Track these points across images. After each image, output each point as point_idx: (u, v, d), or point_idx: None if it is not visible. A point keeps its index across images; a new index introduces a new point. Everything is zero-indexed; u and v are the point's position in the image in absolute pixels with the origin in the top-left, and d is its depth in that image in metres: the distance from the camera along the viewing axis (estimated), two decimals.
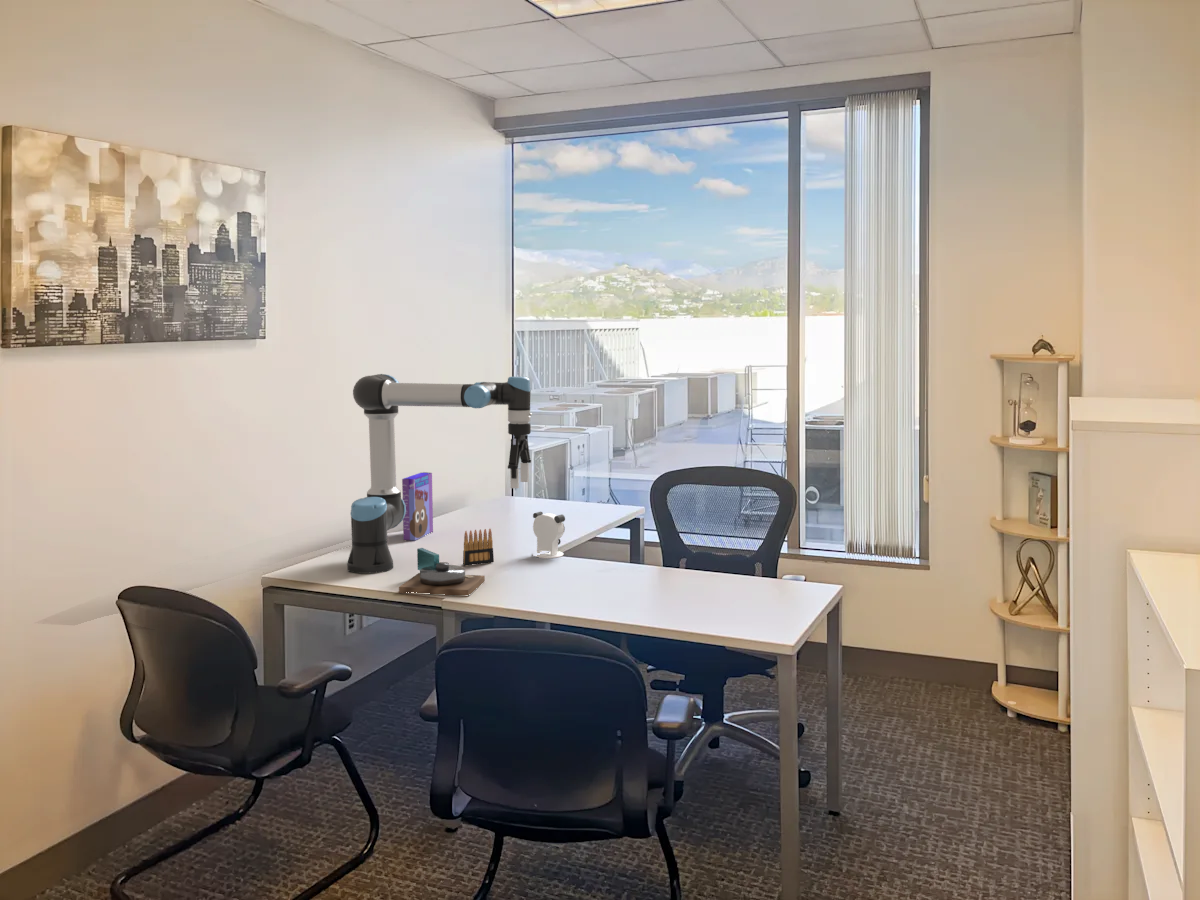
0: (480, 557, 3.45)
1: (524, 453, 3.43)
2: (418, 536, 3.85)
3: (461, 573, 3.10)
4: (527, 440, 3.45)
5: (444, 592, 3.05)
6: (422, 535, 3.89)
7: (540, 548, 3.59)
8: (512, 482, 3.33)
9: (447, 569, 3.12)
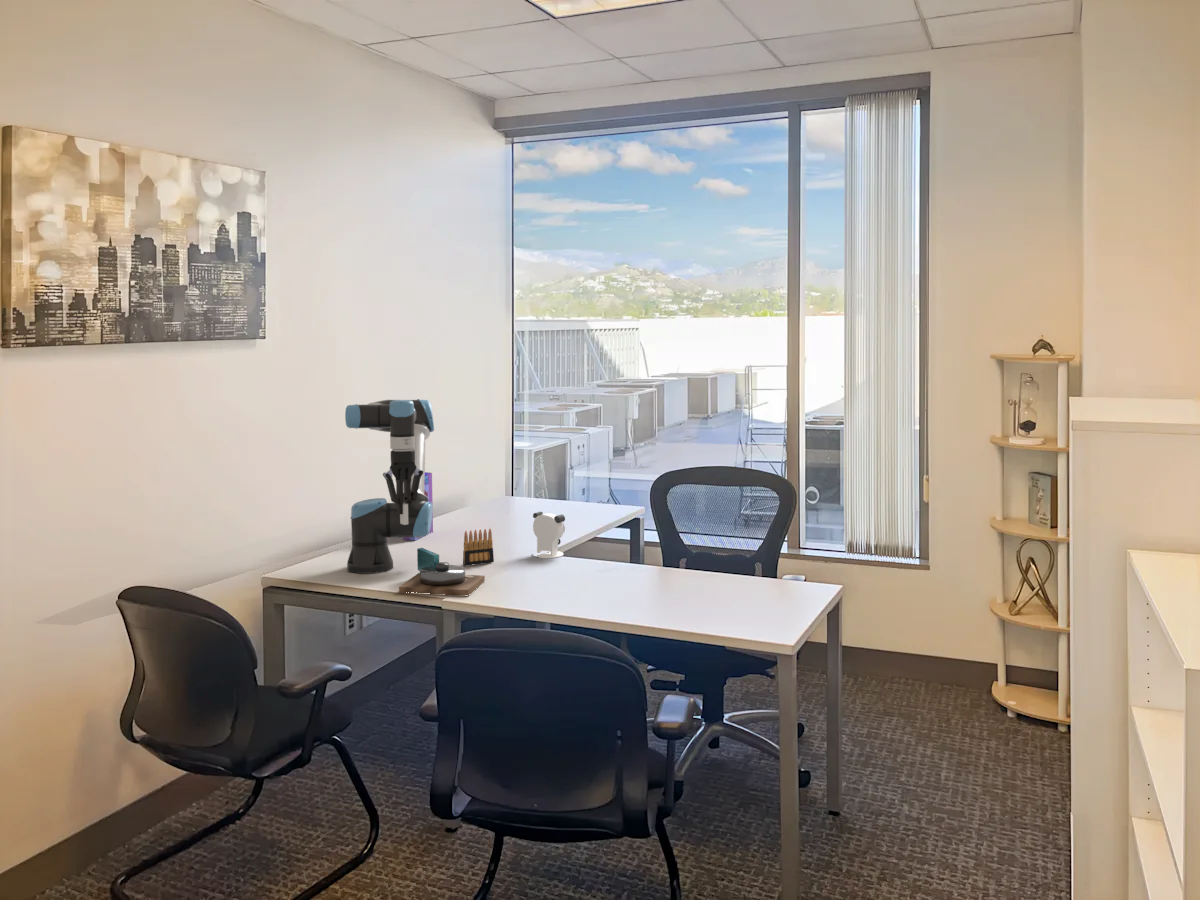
0: (480, 557, 3.45)
1: (406, 487, 3.15)
2: None
3: (461, 573, 3.10)
4: (419, 476, 3.16)
5: (444, 592, 3.05)
6: None
7: (540, 548, 3.59)
8: (400, 517, 3.16)
9: (447, 569, 3.12)
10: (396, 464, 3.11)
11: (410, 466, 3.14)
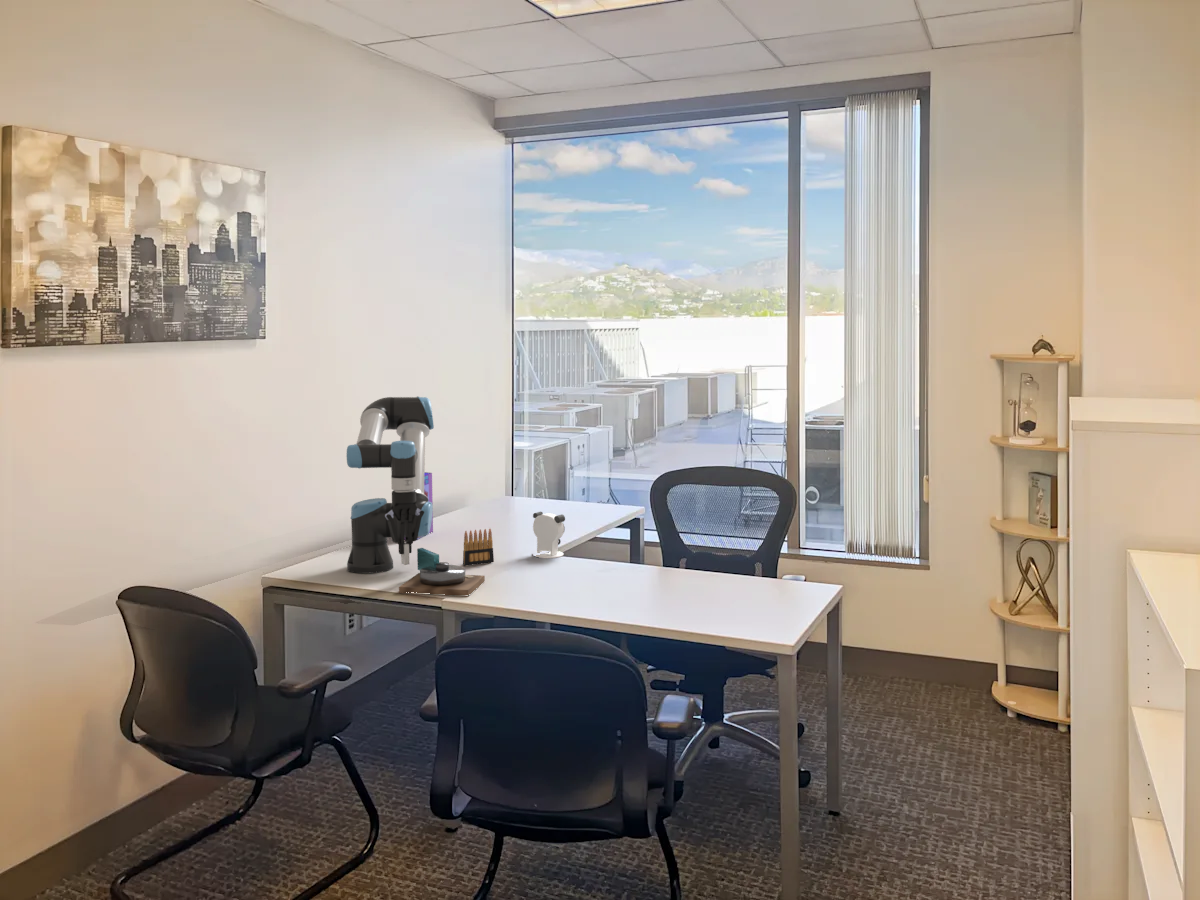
0: (480, 557, 3.45)
1: (407, 527, 3.16)
2: None
3: (461, 573, 3.10)
4: (420, 516, 3.18)
5: (444, 592, 3.05)
6: None
7: (540, 548, 3.59)
8: (402, 557, 3.18)
9: (447, 569, 3.12)
10: (397, 505, 3.13)
11: (411, 506, 3.16)
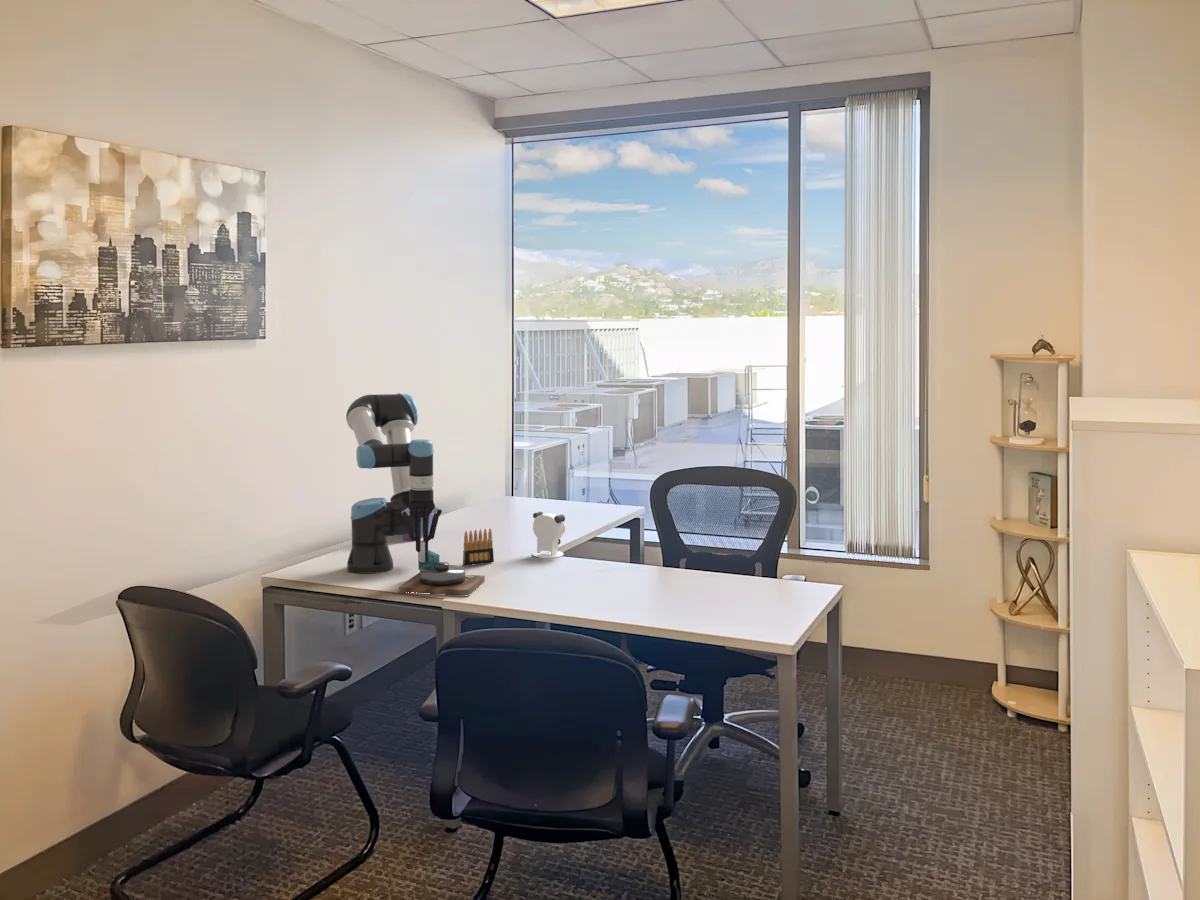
0: (480, 557, 3.45)
1: (424, 525, 3.20)
2: None
3: (461, 573, 3.10)
4: (438, 515, 3.20)
5: (444, 592, 3.05)
6: (422, 535, 3.89)
7: (540, 548, 3.59)
8: (419, 555, 3.21)
9: (447, 569, 3.12)
10: (413, 502, 3.17)
11: (428, 505, 3.19)
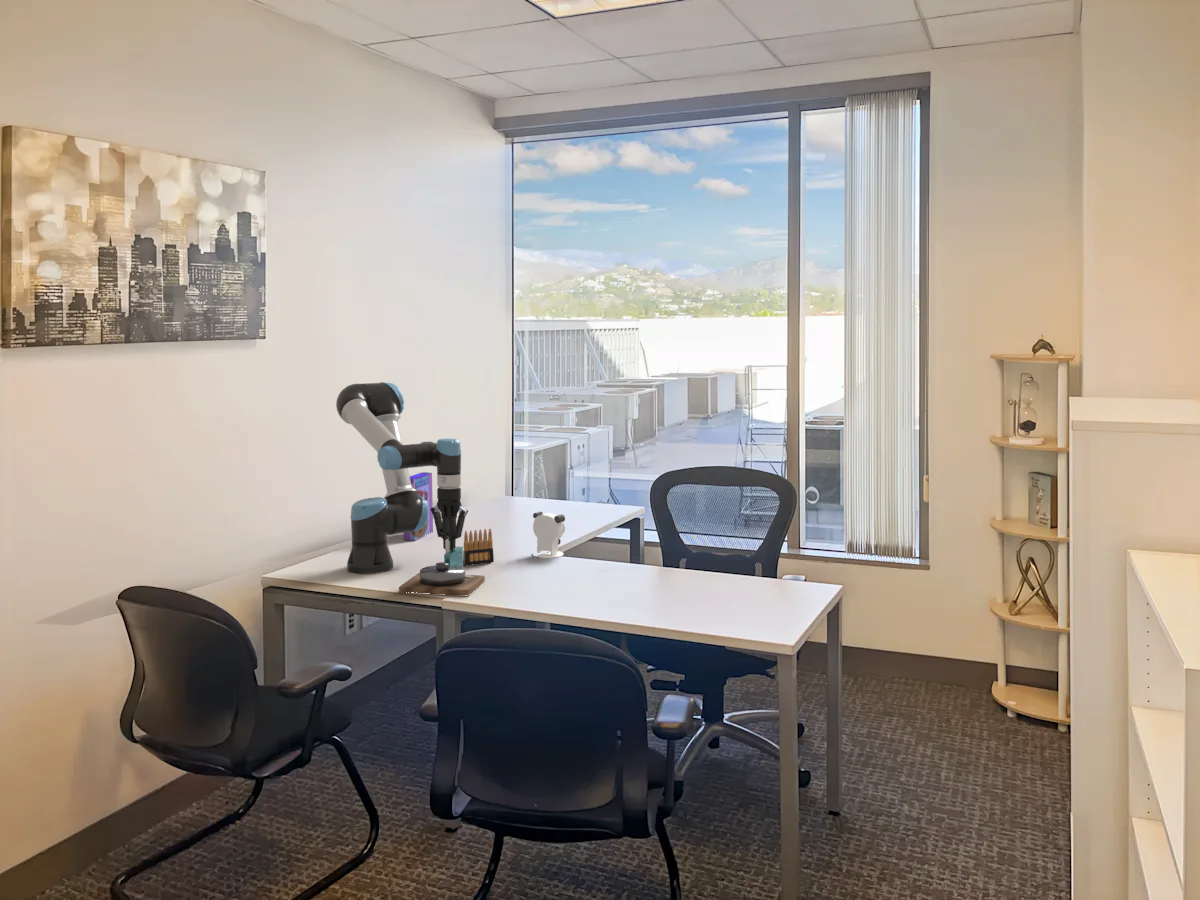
0: (480, 557, 3.45)
1: None
2: (418, 536, 3.85)
3: (445, 576, 3.07)
4: (460, 515, 3.20)
5: (444, 592, 3.05)
6: (422, 535, 3.89)
7: (540, 548, 3.59)
8: None
9: (442, 570, 3.11)
10: (440, 500, 3.22)
11: (452, 504, 3.20)
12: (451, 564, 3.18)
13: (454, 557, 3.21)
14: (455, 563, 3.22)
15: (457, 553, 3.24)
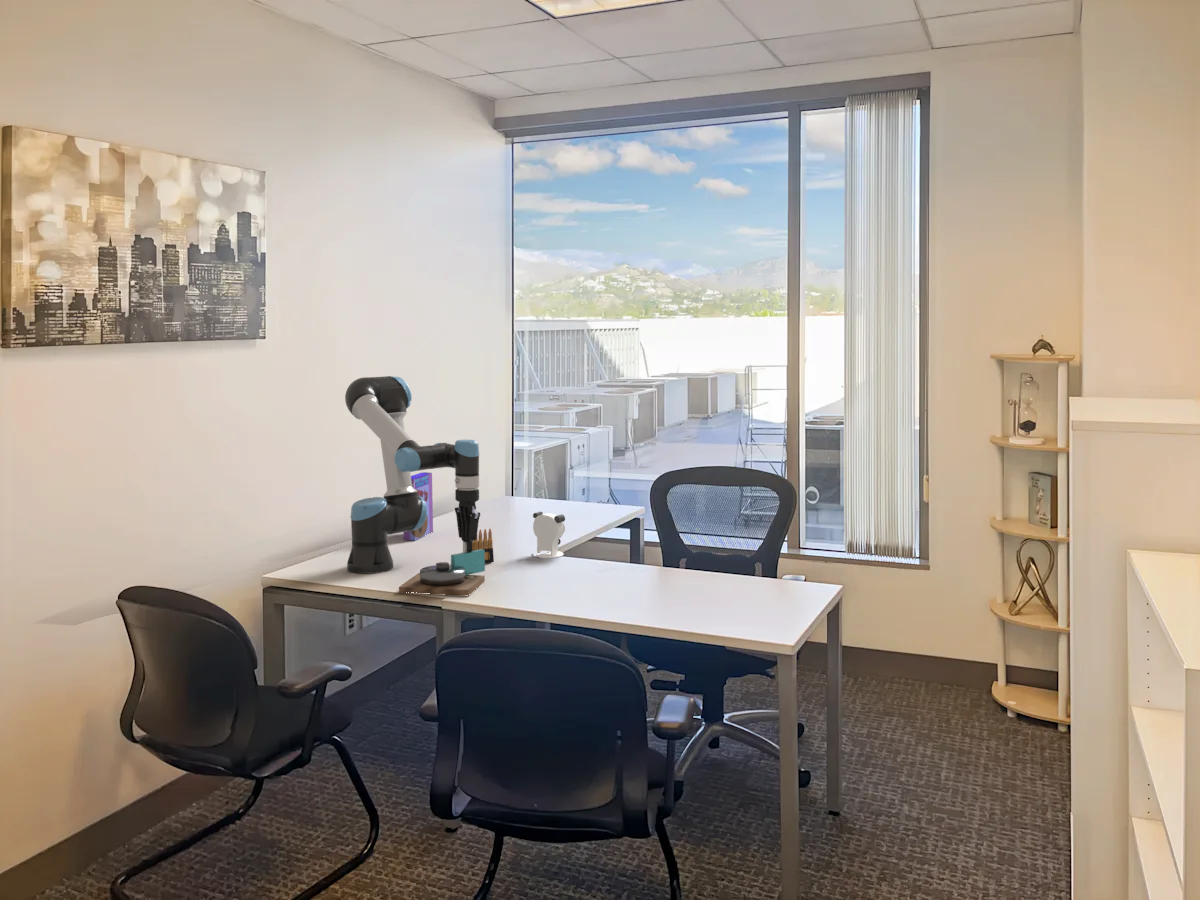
0: None
1: None
2: (418, 536, 3.85)
3: (433, 576, 3.07)
4: (471, 518, 3.16)
5: (444, 592, 3.05)
6: (422, 535, 3.89)
7: (540, 548, 3.59)
8: None
9: (439, 570, 3.11)
10: None
11: (467, 506, 3.18)
12: (458, 565, 3.16)
13: (465, 559, 3.18)
14: (467, 565, 3.19)
15: (472, 556, 3.20)
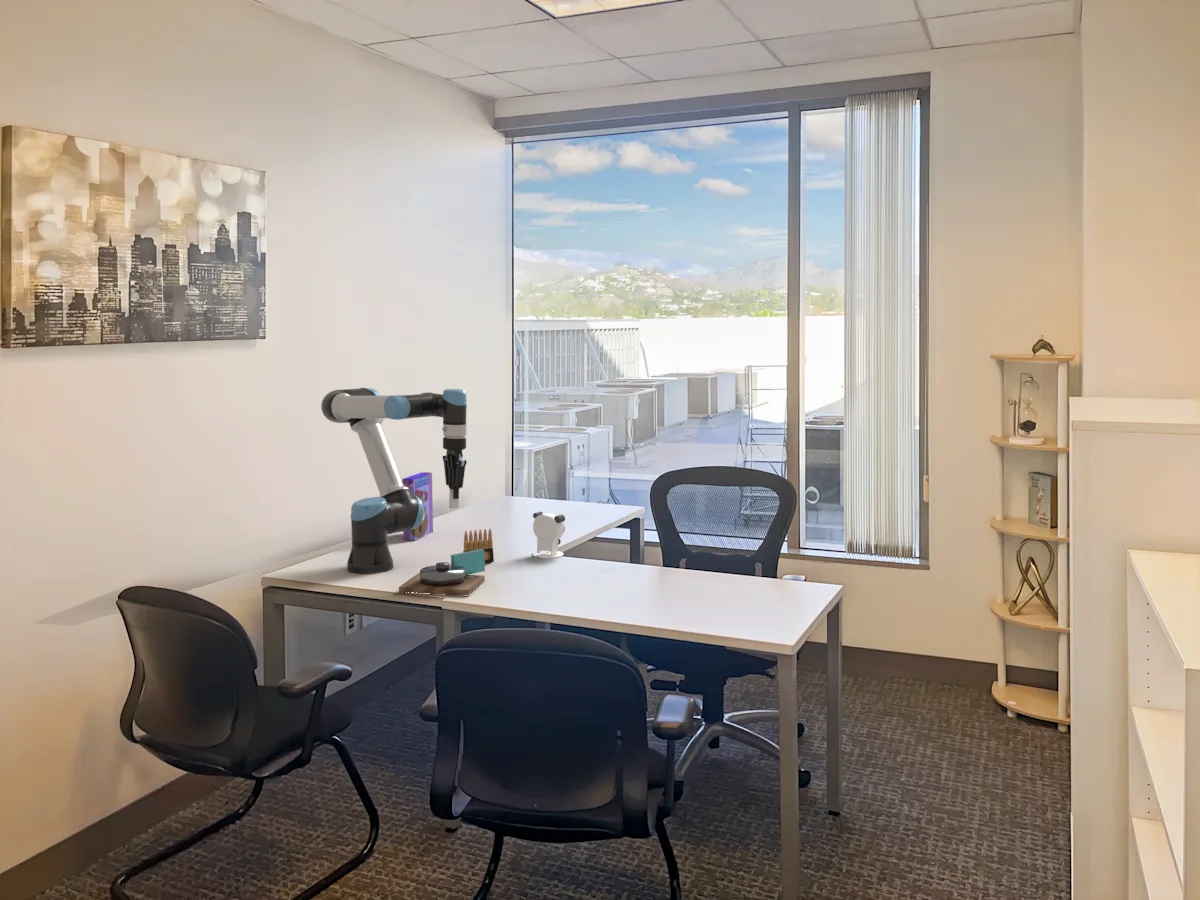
0: None
1: None
2: (418, 536, 3.85)
3: (433, 576, 3.07)
4: (458, 465, 3.23)
5: (444, 592, 3.05)
6: (422, 535, 3.89)
7: (540, 548, 3.59)
8: None
9: (439, 570, 3.11)
10: None
11: (454, 454, 3.25)
12: (458, 565, 3.17)
13: (465, 559, 3.18)
14: (467, 565, 3.19)
15: (472, 556, 3.20)
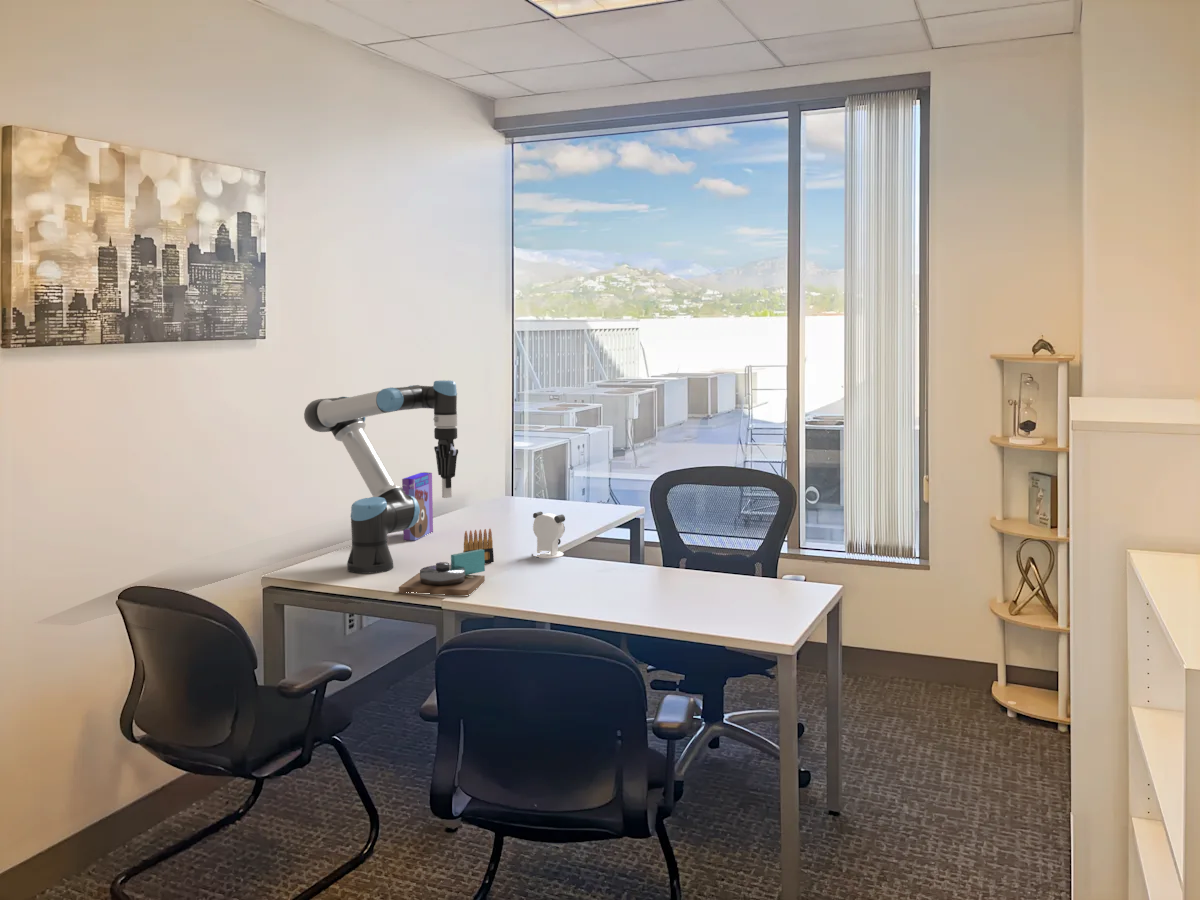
0: None
1: None
2: (418, 536, 3.85)
3: (433, 576, 3.07)
4: (449, 455, 3.29)
5: (444, 592, 3.05)
6: (422, 535, 3.89)
7: (540, 548, 3.59)
8: None
9: (439, 570, 3.11)
10: (439, 439, 3.35)
11: (445, 443, 3.31)
12: (458, 565, 3.17)
13: (465, 559, 3.18)
14: (467, 565, 3.19)
15: (472, 556, 3.20)
